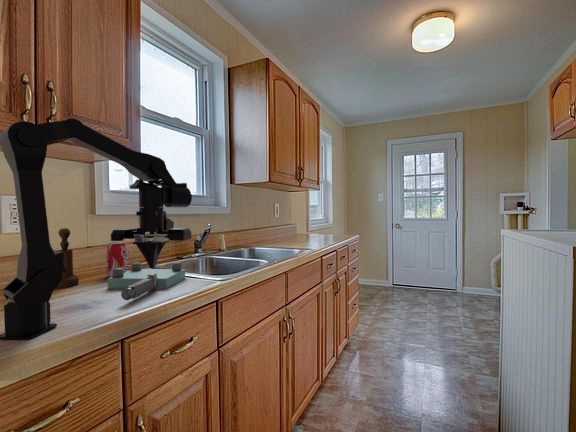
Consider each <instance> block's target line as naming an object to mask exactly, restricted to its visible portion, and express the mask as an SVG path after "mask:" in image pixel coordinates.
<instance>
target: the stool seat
mask: <svg viewBox="0 0 576 432" xmlns="http://www.w3.org/2000/svg"><path fill="white" fill-rule="evenodd" d="M130 265H131V266H130V267H131V268H130V269H129V271H128V272H125V273H124V268H115V269H112V276H113V277H107V289H109V290H110V289H112V290H113V289H114V290H115V289H123V290H124V289H126V287H127V286H130V285H132V284H134V283H136V282H139V281H141V280H143V279H146V278H148V274H153V273H155V274H157V290H158V289H159V290H160V289H164V290H166V289H168V288H170V287H172V286H174V285H176V284H177V283H179V282H181V281H182V280H184V279H186V269H182V267H183V266H182V262H181V261H175V262H171V268H162V269H161V268H160V269H157V268H156V269H155V268H146V269H145V268H143V269H142V262H138V261H137V262H131V263H130Z"/></svg>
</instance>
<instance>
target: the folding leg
mask: <svg viewBox="0 0 576 432" xmlns="http://www.w3.org/2000/svg"><path fill="white" fill-rule="evenodd" d="M156 290H158V289H157V274H155V273H153V274H148V278H146V279H143V280H141V281H139V282H136V283H134V284H132V285H130V286H127V287H126V289H123V290H122V291H121V293H120V296H121V298H122V299H123V300H125V301H130V300H134V299H137V298H139V297H141V296H142V295H144V294H146V293H148V292H152V291H156Z"/></svg>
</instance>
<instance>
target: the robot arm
mask: <svg viewBox="0 0 576 432" xmlns="http://www.w3.org/2000/svg"><path fill="white" fill-rule="evenodd" d="M66 141H69V142H72V143H73V144H76V145H78V146H81V147H82V148H85V149H87V150H89V151H91V152H93V153H95V154H97V155H99V156H101V157H103V158H106V159H108V160H109V161H112V162H114V163H116V164H118V165H120V166H122V167H123V168H124V169H126V170H127V172H128V173H130V174H131V175H132V176H134V177H135V178H137V179H136V180H135V181H134V183H132V184H131V185H130V186H129V189H130V190H138V211H136V214H135V215H136V216H138V218H139V220H138V221H139V222H138V223H139V225H138V227H136V228H117V229H113V230H112V231H111V233H110V241H111V242H121V241H123V242H124V240H134V241H133V242H132V245H136V247H137V249H138V250H139V251H140V253H141V254H142V255H143V257H144V260H145V261H146V263H147V265H148V267H149V269H155V268H156V266H157V263H158V261H159V258H160V255H161V252H162V250H163V248H164V247H165V246H166V244H167V243H168V244H169V243H171V242H172V241H173V242H174V241H175V242H176V241H177V242H181V241H188V240H191V239H192V231H191V230H190V228H189V227H187V228H185V227H184V228H180V227H179V228H177V227H176V228H174V226H175V222H174V221H173V220H171V219H170V218H168V217H167V212H166V210H165V209H164V206H165V207H166V208H188V207H189V206H190V205H191V203H192V199H193V195H192V194H191V191H190V188H188V184H187V182H179V183H178V182H176V180H175V179H174V178H173V176H172V175H171V173H170V172H169V170H168V169H167V165H166V162H165V160H163V158H161V157H159V156H155V155H152V154H149V153H146V152H141V151H137V150H133V149H131V148H130V147H127V146H126V145H124V144H122V143H120V142H118V141H116V140H114V139H113V138H110V137H109V136H107V135H105V134H103V133H101V132H99V131H97V130H95V129H94V128H92V127H89V126H87V124H84V123H83V122H82V121H81V120H78V119H76V118H72V117H70V118H66V119H64V120H56V121H47V122H43V123H42V122H41V123H37V124H36V123H33V122H29V121H18V122H14V123H13V124H11V125H10V126H8V127H7V128H5V129H4V130H3V131H1V133H0V147H1V149H2V152H3V155H4V158H5V160H6V162H7V164H8V165H9V168H10V171H11V172H12V175H13V184H14V192H15V200H16V205H17V206H16V207H17V215H18V217H17V218H18V222H19V223H18V224H19V232H20V238H21V239H20V241H21V249H20V252H19V255H18V259H17V265H16V266H17V268H16V277H15V278H14V279H13V280H10V282H9V283H8V284H6V285H5V287H3V289H1V293H2V295H3V296H4V298H5V300H6V301H9V302H7V304H4V305H3V315H4V316H3V317H4V318H3V319H4V332H3V333H1V334H0V340H1V339H3V340H29V339H33V338H34V337H37V336H39V335H41V334H43V333H45V332H48V331H49V330H52V329H54V328H56V327H58V323H51V303H50V299H51V298H52V295H53V292H54V290H55V289H57V288H56V287H57V286H58V285H59V284H60V283H61V282H62V279H63V273H62V272H64V273H66V272H67V271H66V270H65V268H64V263H63V262H64V253H63V252H59V250H54V248H53V247H52V244H51V242H50V232H49V224H48V222H49V221H48V215H47V206H46V197H45V191H44V190H45V189H44V188H45V186H44V179H43V169H44V166H45V165H44V164H45V161H46V158H47V150H48V146H50V145H54V144H59V143H62V142H66Z"/></svg>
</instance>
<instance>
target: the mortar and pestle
mask: <svg viewBox="0 0 576 432" xmlns="http://www.w3.org/2000/svg"><path fill="white" fill-rule="evenodd" d="M57 234H58V236H59V237H60V238H61V242H60V243H59V245H60V248H61V249H60V250H58V251H59V252H63V253H64V262H63V263H64V268H65V270H66V271H67V272H66V273H64V272H62V273H63V279H62V282H61V283H60V284H59V285H58V286H57V287H56V288H55V289H62V288H63V289H64V288H70V287H75V286H77V285H79V276H77V275H76V274H74V259H73V254H74V253H73V252H74V251H73V249H69V245H70V242H69V241H68V238H69V237H70V235H71V230H70V229H69V228H67V227H62V228H60V229H59V231H58V233H57Z"/></svg>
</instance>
